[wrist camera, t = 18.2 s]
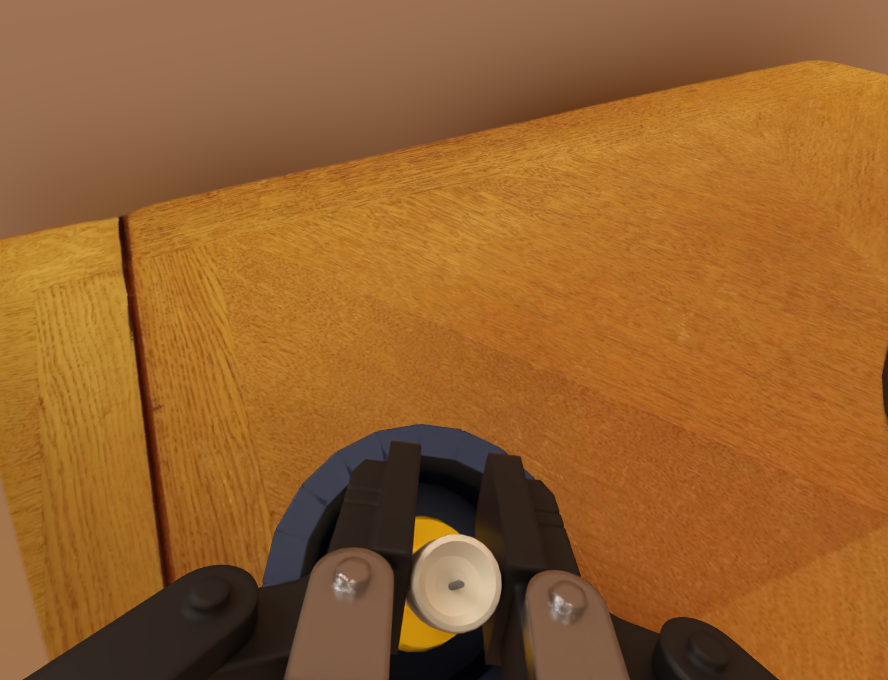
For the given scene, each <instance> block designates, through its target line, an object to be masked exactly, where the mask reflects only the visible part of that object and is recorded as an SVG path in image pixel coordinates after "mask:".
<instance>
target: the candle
mask: <svg viewBox="0 0 888 680" xmlns="http://www.w3.org/2000/svg"><path fill="white" fill-rule="evenodd" d="M501 590H502V581H501V573H500V569H499V566H498V563H497V561H496V559H495V558H494V556H493V554H492V552H491V551H490V550H489V549H488V548H487V547H486V546H485V545H484V544H483V543H481V542H480V541H478V540H476V539H474V538H473V537H469V536H465V535H460V534H459V533H458V532H457V531H456V530H454V529H453V528H452V527H450V526H449V525H447V524H445V523H444V522H442V521H440V520H439V519H435V518H431V517H428V516H416V517H415V529H414V542H413V554H412V561H411V567H410V574H409V581H408V588H407V594H406V601H405V608H404V615H403V621H402V628H401V635H400V642H399V649H398V650H402V651H405V652H423V651H427V650H430V649H433V648H435V647H438V646H441V645H442V644H444V643H445V642H446V641H448V640H449V639H451V638H452V637H453V636H455V635H456V634H458V633H465V632H469V631H472V630H475V629H477V628H478V627H480V626H481V625H483V624H484V623H486V622H487V620H488V619H489V618H490V617H491V616H492V614H493V613H494V611H495V609H496V607H497V605H498V603H499V600H500V595H501Z"/></svg>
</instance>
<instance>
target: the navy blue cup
mask: <svg viewBox="0 0 888 680" xmlns="http://www.w3.org/2000/svg"><path fill="white" fill-rule="evenodd" d="M391 440H393V441H402V442H410V443H418V444H421V457H420V469H419V481H418V493H417V505H416V516H428V517H431V518H435V519H439V520H440V521H442V522H444V523H445V524H447V525H449V526H450V527H452V528H453V529H454V530H456V531H457V532H458V533H459V534H460V535H465V536H469V537H473V538H474V539H475V520H476V510H477V504H478V499H479V494H480V489H481V484H482V479H483V473H484V468H485V463H486V459H487V455H488V453H489V452H490V453H499V454H507V453H506V452H505V451H504V450H501V448H500V447H498V446H495V445H493V444H491V443H489V442H487V441H485V440H483V439H481V438H479V437H476V436H474V435H472V434H470V433H468V432H466V431H462V430H461V429H454V428H447V427H439V426H432V425H425V424H420V425H418V424H417V425H411V426H405V427H399V428H393V429H387V430H382V431H378V432H374V433H372V434H370V435H368V436H366V437H364V438H362V439H360V440H359V441H357V442H355V443H353V444H351V445H349V446H347V447H345V448H343V449H341V450H339V451H337V453H334V454H333V455H332V456H331V457H330V458H329V459H328V460H327V461H326V462H325V463H324V464H323V465H322V466H321V467H320V468H319V469H317V470H316V471H315V472H314V473H313V474H312V475H311V476H310V477H309V478H308V479H307V480H306V481H305V482H304V483H303V484H302V486H301V487H300V488H299V490H298V492H297V493H296V495H295V497H294V498H293V500H292V502H291V504H290V505H289V507H288V509H287V511H286V512H285V514H284V516H283V518H282V519H281V521H280V523H279V524H278V526H277V528H276V530H277V531H275V533H274V537H273V541H272V545H271V549H270V553H269V557H268V561H267V565H266V569H265V573H264V577H263V581H262V582H263V585H262V587H265V586H272V585H278V584H284V583H288V582H292V581H295V580H298V579H300V578H302V577H304V576H306V575H308V574H310V573H311V572H312V569H313V568H314V566H315V565H316V563H317V562H318V561H319V560H320V559H321V558H323V557H324V556H325V555H327V553H328V550H329V547H330V543H331V540H332V537H333V533H334V530H335V527H336V524H337V520H338V517H339V514H340V510H341V507H342V504H343V502H344V497H345V494H346V491H347V488H348V484H349V481H350V477H351V474H352V471H353V470H354V469H355V468H356V467H357V466H358V465H359V464H361V463H362V462H363V461H364V460H365V459H370V460H378V461H387V459H388V454H389V449H390V444H391ZM507 455H508V454H507ZM524 472H525V476H526V478H527V479H534V477H533V476H532V475H530V474H529V473H528V472H527V471H526V470H525V469H524ZM389 680H503V673H502V666H497V665H488V664H486V663H485V650H484V638H483V626H482V625H481V626H480V627H478V628H477V629H475V630H472V631H469V632H465V633H458V634H456V635H455V636H453V637H452V638H451V639H449V640H448V641H446V642H445V643H444V644H442V645H441V646H438V647H435V648H433V649H430V650H427V651H423V652H405V651H402V650H398V655H393V654H390V667H389Z"/></svg>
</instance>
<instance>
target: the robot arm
mask: <svg viewBox="0 0 888 680" xmlns="http://www.w3.org/2000/svg"><path fill="white" fill-rule="evenodd" d="M420 457H421V444H418V443H410V442H402V441H393V440H391V444H390V449H389V454H388V459H387V461H378V460H370V459H365V460H364V461H363V462H362V463H361V464H359V465H358V466H357V467H356V468H355V469H354V470H353V471H352V474H351V477H350V481H349V484H348V488H347V491H346V494H345V497H344V502H343V504H342V507H341V510H340V514H339V517H338V520H337V524H336V527H335V530H334V533H333V537H332V540H331V543H330V547H329V550H328V553H327V555H325V556H324V557H323V558H321V559H320V560H319V561H318V562H317V563H316V565H315V566H314V568H313V569H312V572H311V573H310V574H308V575H306V576H304V577H302V578H300V579H298V580H295V581H292V582H288V583H284V584H278V585H272V586H265V587H259V588H258V586H257V583H256V581H255V579H254V578H253V576H252V575H250V574H249V573H248V572H247V571H245V570H243V569H241V568H238V567H235V566H230V565H213V566H207V567H203V568H200V569H197V570H194V571H192V572H190V573H188V574H186V575H184V576H183V577H181V578H179V579H178V580H176V581H175V582H173V583H172V584H170V585H168V586H167V587H165V588H164V589H162V590H161V591H159V592H158V593H156V594H155V595H153V596H152V597H150V598H148V599H147V600H145V601H144V602H142V603H141V604H139V605H138V606H136V607H135V608H133V609H131V610H130V611H128V612H127V613H125V614H124V615H122V616H121V617H119V618H118V619H116V620H114V621H113V622H111V623H110V624H108V625H107V626H105V627H104V628H102V629H101V630H99V631H97V632H96V633H94V634H93V635H91V636H90V637H88V638H87V639H85V640H84V641H82V642H80V643H79V644H77V645H76V646H74V647H73V648H71V649H70V650H68V651H67V652H65V653H63V654H62V655H60V656H59V657H57V658H56V659H54V660H53V661H51V662H50V663H48V664H46V665H45V666H43V667H42V668H40V669H39V670H37V671H36V672H34V673H33V674H31V675H29V676H28V677H26V678H25V679H23V680H389V667H390V654H393V655H398V649H399V642H400V635H401V628H402V621H403V615H404V608H405V601H406V594H407V588H408V581H409V574H410V567H411V561H412V554H413V542H414V529H415V517H416V505H417V493H418V481H419V469H420ZM475 539H476V540H478V541H480V542H481V543H483V544H484V545H485V546H486V547H487V548H488V549H489V550H490V551H491V552H492V554H493V556H494V558H495V559H496V561H497V563H498V566H499V569H500V573H501V581H502V590H501V595H500V600H499V603H498V605H497V607H496V609H495V611H494V613H493V614H492V616H491V617H490V618H489V619H488V620H487V622H486V623H484V624H483V625H482V626H483V638H484V650H485V663H486V664H488V665H497V666H502V673H503V680H778V679H777V678H776V677H775V676H774V675H773V674H771V673H770V672H769V671H768V670H767V669H766V668H764V667H763V666H762V665H761V664H760V663H759V662H758V661H756V660H755V659H754V658H753V657H752V656H751V655H749V654H748V653H747V652H746V651H745V650H744V649H742V648H741V647H740V646H739V645H738V644H737V643H735V642H734V641H733V640H732V639H731V638H729V637H728V636H727V635H726V634H724V633H723V632H721V631H720V630H718V629H717V628H715V627H713V626H711V625H709V624H707V623H705V622H703V621H700V620H697V619H693V618H687V617H677V618H673V619H670V620H668V621H667V622H666V623H665V624H664V625H663V626H662V629H661V631H660V634H659V633H656V632H653V631H651V630H648V629H645V628H643V627H640V626H638V625H635V624H632V623H630V622H627V621H625V620H623V619H620V618H618V617H617V616H615V615H613V614H611V613H610V612H609V610H608V607H607V605H606V602H605V600H604V599H603V597H602V596H601V594H600V593H599V592H598V591H597V590H596V589H595V588H594V587H593V586H592V585H591V584H590V583H588V582H587V581H586V580H584V579H582V578H581V575H580V572H579V569H578V566H577V563H576V560H575V557H574V554H573V551H572V548H571V545H570V542H569V539H568V536H567V533H566V530H565V528H564V524H563V521H562V518H561V515H559V509H558V506H557V503H556V500H555V497H554V495H553V493H552V492H551V491H550V490H549V489H548V488H547V487H546V486H545V485H544V483H543V482H542V481H541V480H535V479H527V478H526V476H525V472H524V468H523V464H522V460H521V457H520V456H515V455H507V454H499V453H490V452H489V453H488V455H487V459H486V463H485V468H484V473H483V479H482V484H481V489H480V494H479V499H478V504H477V510H476V520H475Z"/></svg>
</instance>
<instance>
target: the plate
mask: <svg viewBox="0 0 888 680" xmlns="http://www.w3.org/2000/svg"><path fill="white" fill-rule="evenodd" d="M883 388H884V401H885V410H886V413H887V416H888V352H887V357H886V361H885V366H884V371H883Z"/></svg>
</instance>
